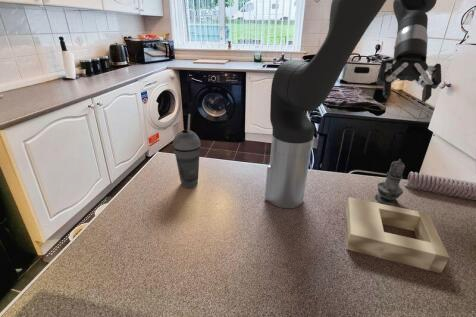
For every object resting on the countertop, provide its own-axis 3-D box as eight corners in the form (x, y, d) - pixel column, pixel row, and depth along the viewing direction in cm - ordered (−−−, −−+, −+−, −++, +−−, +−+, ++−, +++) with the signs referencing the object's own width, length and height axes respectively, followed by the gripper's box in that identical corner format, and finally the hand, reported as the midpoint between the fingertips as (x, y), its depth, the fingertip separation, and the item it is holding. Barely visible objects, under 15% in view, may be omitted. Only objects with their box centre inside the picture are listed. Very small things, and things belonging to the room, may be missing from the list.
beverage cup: (181, 175, 76) (175, 108, 67) (205, 178, 75) (203, 110, 66) (172, 189, 69) (164, 117, 60) (198, 192, 68) (194, 119, 59)
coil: (410, 176, 70) (493, 191, 64) (407, 167, 74) (485, 181, 68) (404, 190, 73) (483, 205, 67) (402, 180, 76) (477, 194, 71)
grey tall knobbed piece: (402, 208, 64) (418, 165, 59) (377, 204, 65) (391, 162, 60) (394, 194, 70) (409, 154, 64) (371, 192, 71) (383, 152, 65)
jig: (346, 249, 52) (350, 233, 50) (345, 210, 63) (348, 197, 61) (440, 273, 47) (449, 257, 45) (421, 227, 58) (428, 213, 56)
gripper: (385, 36, 70) (379, 87, 65) (448, 37, 65) (446, 92, 61) (378, 55, 77) (372, 103, 72) (434, 58, 72) (431, 109, 68)
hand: (406, 98), depth 67 cm, fingers open, 8 cm apart
